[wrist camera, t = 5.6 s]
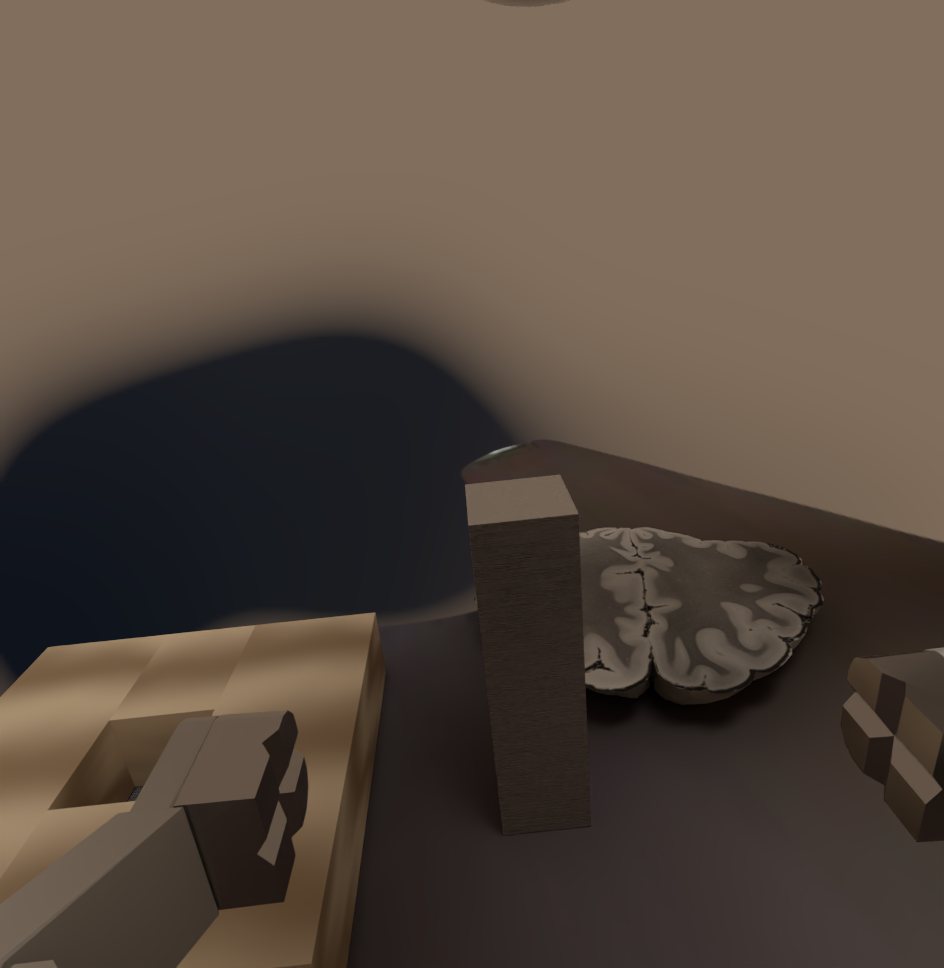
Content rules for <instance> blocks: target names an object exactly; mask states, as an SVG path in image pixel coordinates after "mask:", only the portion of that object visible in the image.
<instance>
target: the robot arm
mask: <svg viewBox="0 0 944 968" xmlns="http://www.w3.org/2000/svg"><path fill="white" fill-rule="evenodd" d="M485 1H488V2H492V3H496V4H500V5H507V6H526V7H533V6H534V7H536V6H544V5H550V4H556V3H562V2H565V1H569V0H485ZM847 681H848V683H849V684H850V685H851V687H852V688H853V689H854V691H855V693H854V694H853V695H852V696H851V697H850V698H849V699H848V700H847V701H846V703H845V704H844V705H843V708H842V717H841V728H842V733H843V737H844V741H845V745H846V747H847V749H848V751H849V753H850V755H851V757H852V759H853V760H854V762H855V763H856V764H857V766H858V767H859V768H860V770H861V771H862V772H863V773H864V774H865V775H867V776H869V777H871V778H872V779H874V780H876V781H878V782H879V783H881V784H883V785H885V786H884V801H885V802H886V803H887V805H888V806H889V807H890V808H891V810H892V811H893V812H894V814H895V815H896V816H897V817H898V819H899V820H900V821H901V823H902V824H903V825H904V826H905V828H906V829H907V830H908V832H909V833H910V834H911V835H912V837H913V838H914V839H915V840H916V842H928V841H944V647H943V648H935V649H926V650H925V651H915V652H905V653H895V654H885V655H875V656H865V657H856V658H855V659H854V660H853V662H852V663H851V665H850V666H849V672H848V677H847ZM297 735H298V728H297V725H296V721H295V718H294V714H293V713H292V712H290V711H289V710H284V711H270V712H255V713H241V714H227V715H221V716H207V717H193V718H186V719H185V720H183V721H182V722H180V723H179V724H178V725H177V727H176V729H175V731H174V732H173V734H172V736H171V738H170V740H169V741H168V743H167V745H166V747H165V749H164V750H163V752H162V754H161V756H160V758H159V759H158V761H157V763H156V765H155V767H154V768H153V770H152V772H151V774H150V776H149V778H148V779H147V781H146V783H145V785H144V787H143V788H142V790H141V792H140V794H139V796H138V797H137V799H136V801H135V803H134V805H133V806H132V808H131V810H130V812H124V813H118V814H116V815H115V816H114V817H113V818H111V819H110V820H109V821H107V822H106V823H105V824H103V825H102V826H101V827H100V828H98V829H97V830H96V831H94V832H93V833H92V834H91V835H89V836H88V837H87V838H85V839H84V840H83V841H81V842H80V843H79V844H78V845H76V846H75V847H74V848H72V849H71V850H70V851H69V852H67V853H66V854H65V855H63V856H62V857H61V858H59V859H58V860H57V861H56V862H54V863H53V864H52V865H50V866H49V867H48V868H47V869H45V870H44V871H43V872H41V873H40V874H39V875H37V876H36V877H35V878H34V879H32V880H31V881H30V882H28V883H27V884H26V885H25V886H23V887H22V888H21V889H19V890H18V891H17V892H15V893H14V894H13V895H12V896H10V897H9V898H8V899H6V900H5V901H4V902H2V903H1V904H0V968H176V967H177V966H178V965H179V964H180V962H181V961H182V960H183V959H184V958H185V956H186V955H187V954H188V953H189V951H190V950H191V949H192V948H193V946H194V945H195V944H196V943H197V941H198V940H199V939H200V938H201V936H202V935H203V934H204V933H205V931H206V930H207V929H208V928H209V927H210V925H211V924H212V923H213V922H214V920H215V919H216V918H217V917H218V915H219V911H218V910H225V909H233V908H241V907H249V906H257V905H264V904H272V903H280V902H284V901H285V897H286V893H287V889H288V885H289V881H290V877H291V873H292V869H293V864H294V860H295V856H296V854H295V850H294V846H293V842H292V837H293V836H294V835H295V834H296V833H297V832H298V831H299V830H300V829H301V827H302V826H303V823H304V819H305V814H306V810H307V800H308V774H307V767H306V762H305V758H304V755H302V754H301V753H300V752H299V751H298V750H296V749H295V748H294V746H295V742H296V739H297Z"/></svg>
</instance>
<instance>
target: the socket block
mask: <svg viewBox="0 0 944 968" xmlns="http://www.w3.org/2000/svg"><path fill="white" fill-rule="evenodd" d="M385 676H386V669H385V663H384V658H383V652H382V647H381V641H380V636H379V630H378V625H377V619H376V614H375V613H366V614H357V615H348V616H339V617H329V618H319V619H310V620H301V621H292V622H282V623H273V624H263V625H254V626H244V627H235V628H225V629H216V630H207V631H198V632H188V633H178V634H169V635H159V636H150V637H141V638H131V639H122V640H114V641H113V640H112V641H103V642H94V643H85V644H75V645H67V646H66V645H65V646H56V647H48V648H47V649H46V650H45V651H44V652H43V653H42V654H41V655H40V656H39V657H38V659H37V660H36V661H35V662H34V663H33V664H32V665H31V666H30V667H29V668H28V669H27V670H26V671H25V672H24V673H23V674H22V675H21V676H20V677H19V679H17V681H16V682H15V683H14V684H13V685H12V686H11V687H10V688H9V689H8V690H7V691H6V692H5V693H4V694H3V695H2V696H1V697H0V904H1V903H2V902H4V901H5V900H6V899H8V898H9V897H10V896H12V895H13V894H14V893H15V892H17V891H18V890H19V889H21V888H22V887H23V886H25V885H26V884H27V883H28V882H30V881H31V880H32V879H34V878H35V877H36V876H37V875H39V874H40V873H41V872H43V871H44V870H45V869H47V868H48V867H49V866H50V865H52V864H53V863H54V862H56V861H57V860H58V859H59V858H61V857H62V856H63V855H65V854H66V853H67V852H69V851H70V850H71V849H72V848H74V847H75V846H76V845H78V844H79V843H80V842H81V841H83V840H84V839H85V838H87V837H88V836H89V835H91V834H92V833H93V832H94V831H96V830H97V829H98V828H100V827H101V826H102V825H103V824H105V823H106V822H107V821H109V820H110V819H111V818H113V817H114V816H115V815H116V814H118V813H124V812H130V810H131V808H132V806H133V805H134V803H135V801H130V802H127V800H128V799H129V797H130V795H131V793H132V791H133V790H134V788H135V787H139V786H144V785H145V783H146V781H147V779H148V778H149V776H150V774H151V772H152V770H153V768H154V767H155V765H156V763H157V761H158V759H159V758H160V756H161V754H162V752H163V750H164V749H165V747H166V745H167V743H168V741H169V740H170V738H171V736H172V734H173V732H174V731H175V729H176V727H177V725H178V724H179V723H180V722H182V721H183V720H185V719H186V718H193V717H207V716H221V715H227V714H241V713H255V712H270V711H284V710H289V711H290V712H292V713H293V714H294V718H295V721H296V725H297V728H298V735H297V739H296V742H295V746H294V748H295V749H296V750H298V751H299V752H300V753H301V754H302V755H304V758H305V762H306V767H307V774H308V800H307V810H306V814H305V819H304V823H303V826H302V827H301V829H300V830H299V831H298V832H297V833H296V834H295V835H294V836H293V837H292V842H293V846H294V850H295V854H296V856H295V860H294V864H293V869H292V873H291V877H290V881H289V885H288V889H287V893H286V897H285V901H284V902H280V903H272V904H264V905H257V906H249V907H241V908H233V909H225V910H218V911H219V915H218V917H217V918H216V919H215V920H214V922H213V923H212V924H211V925H210V927H209V928H208V929H207V930H206V931H205V933H204V934H203V935H202V936H201V938H200V939H199V940H198V941H197V943H196V944H195V945H194V946H193V948H192V949H191V950H190V951H189V953H188V954H187V955H186V956H185V958H184V959H183V960H182V961H181V962H180V964H179V965H178V966H177V967H176V968H347V962H348V954H349V947H350V939H351V932H352V924H353V917H354V909H355V901H356V894H357V886H358V879H359V871H360V864H361V856H362V849H363V841H364V834H365V826H366V819H367V811H368V804H369V796H370V789H371V781H372V774H373V766H374V759H375V751H376V744H377V736H378V729H379V721H380V714H381V706H382V699H383V691H384V684H385Z"/></svg>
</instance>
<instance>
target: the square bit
mask: <svg viewBox="0 0 944 968" xmlns="http://www.w3.org/2000/svg"><path fill="white" fill-rule="evenodd" d="M465 489H466V501H467V513H468V525H469V534H470V544H471V552H472V561H473V570H474V579H475V588H476V597H477V606H478V615H479V624H480V633H481V642H482V651H483V660H484V669H485V678H486V687H487V696H488V705H489V714H490V723H491V732H492V741H493V750H494V759H495V768H496V777H497V786H498V795H499V804H500V813H501V822H502V831H503V835H511V834H520V833H529V832H539V831H548V830H557V829H567V828H576V827H585V826H591V812H590V787H589V762H588V737H587V712H586V687H585V662H584V636H583V611H582V586H581V561H580V536H579V514H578V512H577V509H576V507H575V505H574V503H573V501H572V499H571V497H570V495H569V493H568V491H567V488H566V486H565V484H564V482H563V480H562V478H561V476H560V475H552V476H543V477H533V478H524V479H514V480H505V481H496V482H486V483H477V484H468V485H465Z"/></svg>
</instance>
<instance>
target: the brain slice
mask: <svg viewBox="0 0 944 968" xmlns="http://www.w3.org/2000/svg"><path fill="white" fill-rule="evenodd" d="M579 536H580V561H581V586H582V611H583V636H584V662H585V687H586V688H588V689H590V690H592V691H595V692H597V693H601V694H605V695H619V696H621V697H628V698H638V697H639V695H642V694H644V692H645V691H646V690H647V689H648V688H650V684H651V683H650V677H652V679H651V681H653V686H654V690H655V691H656V692H657V693H658V694H659V695H660V696H661V697H662V698H663V699H666V700H669V701H672V702H674V703H677V704H681V705H686V704H693V705H695V704H706V703H711V702H715V701H718V700H722V699H726V698H729V697H731V696H732V695H734V694H736V693H738V692H739V691H741V690H742V689H744V688H745V687H746V686H748V685H749V684H750V683H751V682H752V681H753V680H756V679H759V678H761V677H764V676H767V675H769V674H770V673H772V672H773V671H775V670H777V669H778V668H779V667H781V666H782V665H783V664H784V663H785V662H786V661H787V660H788V659H789V657H790V656H791V655H792V650H793V649H794V648H795V647H797V646H798V644H799V643H800V641H801V640H802V639H803V637H804V636H805V634H806V631H807V628H808V625H809V622H810V620H811V619H812V618H813V617H814V614H816V613H817V612H818V611H819V609H820V608H821V606H822V605H823V600H824V598H823V596H822V594H821V592H820V589H821V587H822V583H821V580H820V579H819V578H818V577H817V576H816V575H815V573H814V572H813V571H812V570H811V569H810V568H809V567H808V566H804V565H802V559H801V558H800V557H799V556H798V555H796V554H795V553H793V552H791V551H790V550H788V549H785V548H783V547H780V546H776V545H773V544H768V543H763V542H748V541H716V540H703V539H699V538H695V537H691V536H687V535H684V534H679V533H672V532H667V531H664V530H660V529H654V528H648V527H641V528H635V529H632V530H631V529H630V528H598V529H594V530H590V531H587V532H580V533H579ZM474 600H475V602H476V604H477V597H475V599H474Z"/></svg>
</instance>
